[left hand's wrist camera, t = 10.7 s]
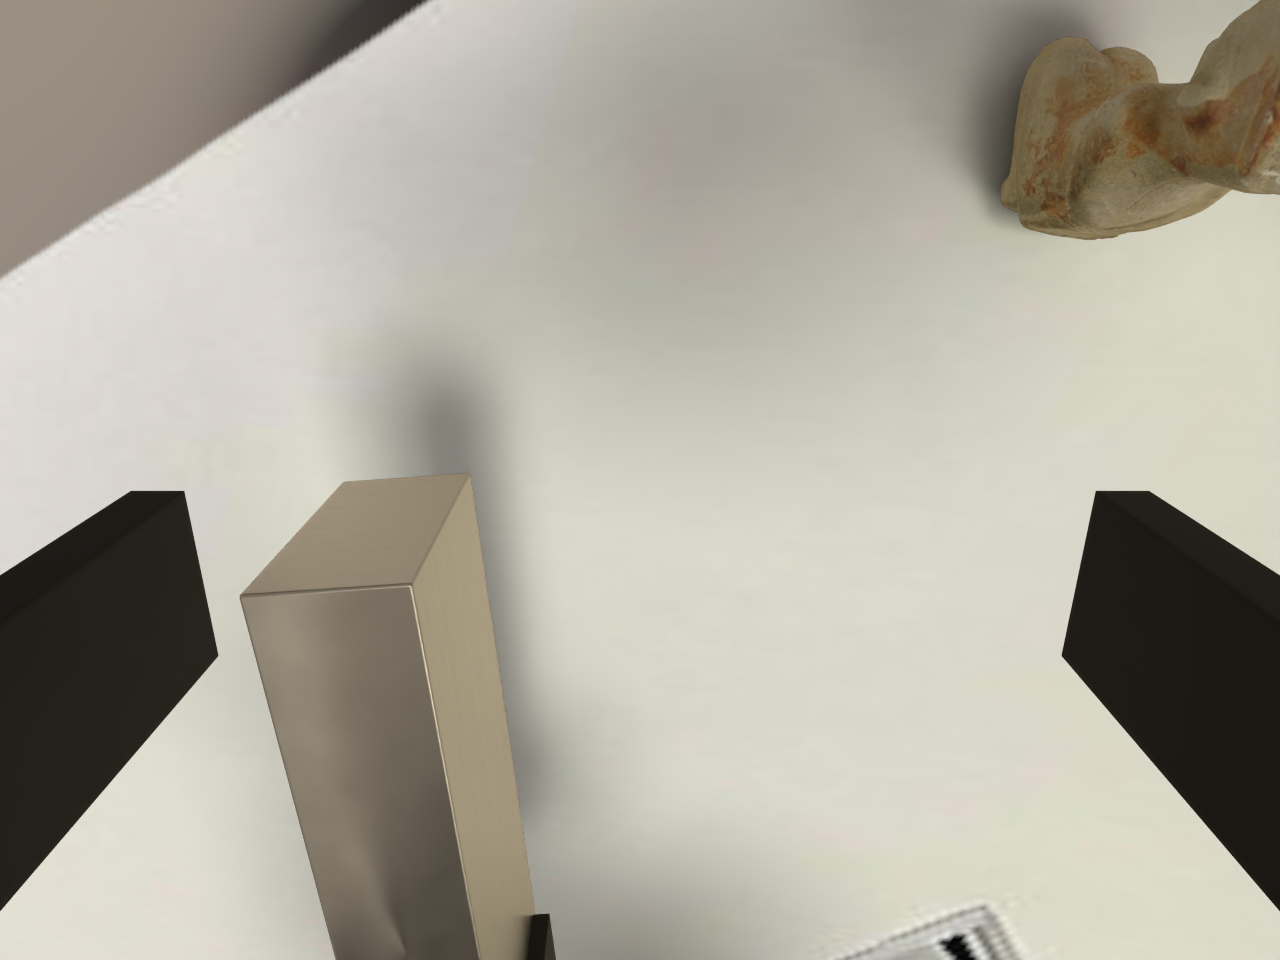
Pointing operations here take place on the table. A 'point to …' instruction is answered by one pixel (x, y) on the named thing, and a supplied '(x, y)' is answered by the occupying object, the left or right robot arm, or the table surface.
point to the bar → (396, 723)
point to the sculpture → (1145, 133)
